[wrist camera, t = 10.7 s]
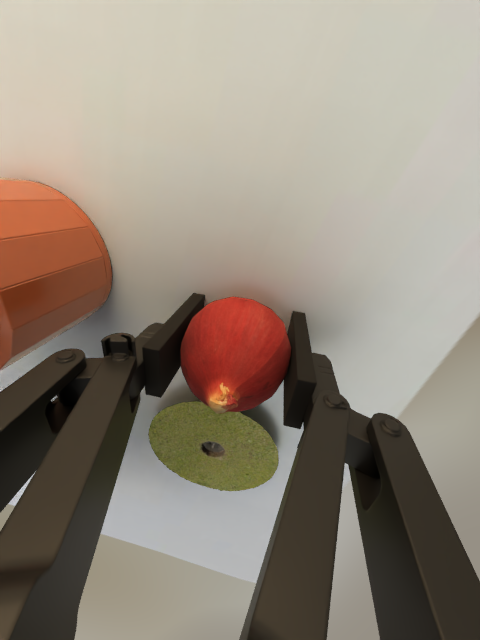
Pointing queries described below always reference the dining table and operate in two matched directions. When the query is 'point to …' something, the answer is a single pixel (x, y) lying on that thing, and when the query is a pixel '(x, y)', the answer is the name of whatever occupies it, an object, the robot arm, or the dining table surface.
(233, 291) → the dining table surface
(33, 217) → the flower pot
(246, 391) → the onion
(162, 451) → the mat
